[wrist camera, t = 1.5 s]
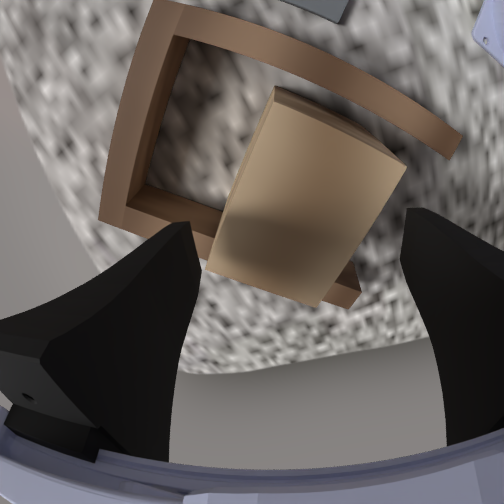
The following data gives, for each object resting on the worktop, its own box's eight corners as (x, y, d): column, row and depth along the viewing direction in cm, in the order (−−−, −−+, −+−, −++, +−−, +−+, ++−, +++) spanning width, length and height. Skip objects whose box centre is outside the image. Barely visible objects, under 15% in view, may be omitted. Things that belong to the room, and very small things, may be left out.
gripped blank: (360, 124, 16) (407, 166, 10) (305, 227, 19) (316, 307, 14) (274, 85, 15) (273, 101, 9) (228, 197, 19) (204, 269, 13)
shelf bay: (437, 122, 15) (463, 136, 12) (341, 278, 21) (348, 309, 19) (174, 6, 13) (154, -2, 10) (119, 197, 19) (98, 219, 17)
